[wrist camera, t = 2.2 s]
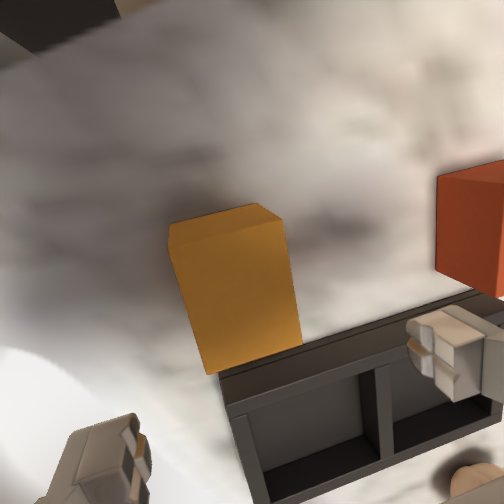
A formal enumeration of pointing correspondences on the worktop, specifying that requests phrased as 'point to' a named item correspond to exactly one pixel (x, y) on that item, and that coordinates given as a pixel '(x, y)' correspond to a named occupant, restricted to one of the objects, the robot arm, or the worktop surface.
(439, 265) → the orange-red rectangular block
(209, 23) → the worktop surface
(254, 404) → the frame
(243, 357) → the yellow-orange rectangular block
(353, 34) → the worktop surface
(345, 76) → the worktop surface
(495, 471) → the garlic bulb
